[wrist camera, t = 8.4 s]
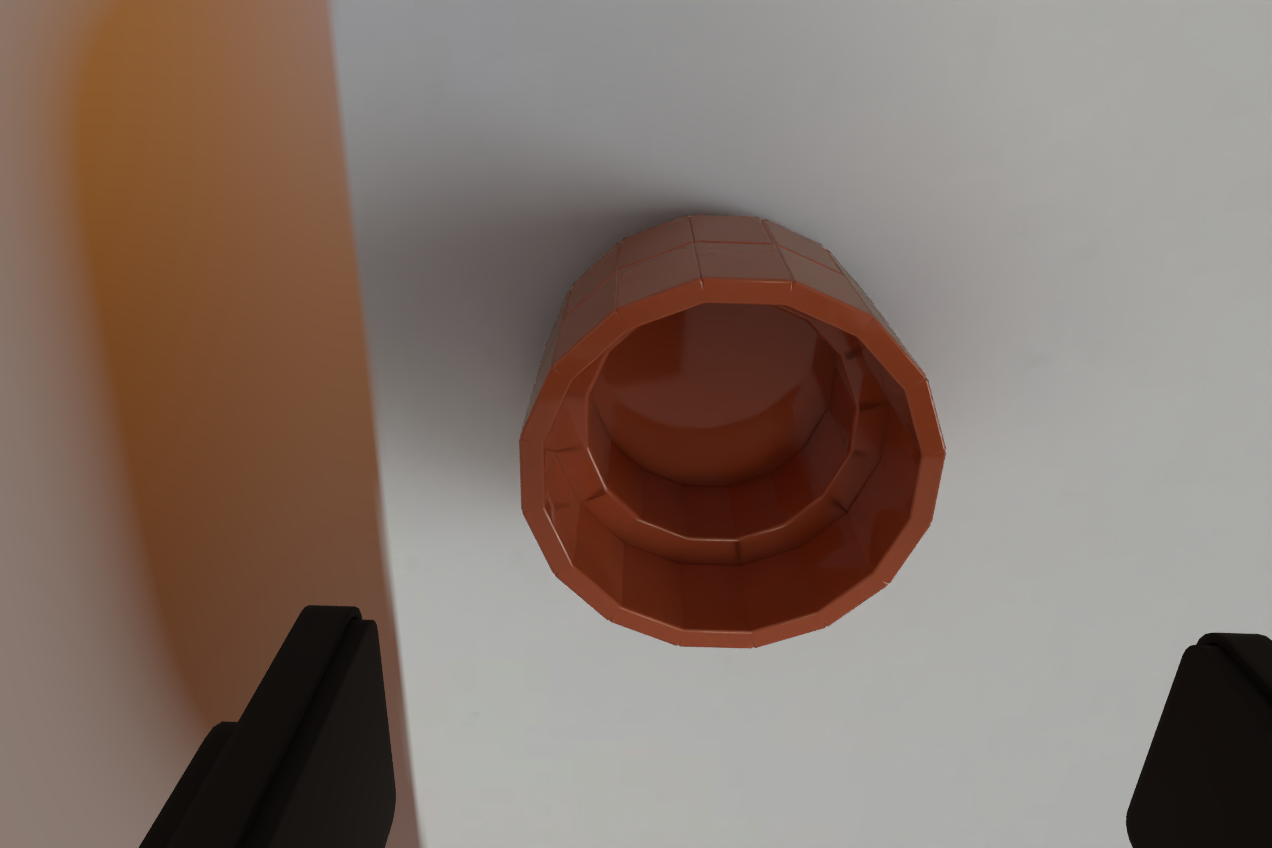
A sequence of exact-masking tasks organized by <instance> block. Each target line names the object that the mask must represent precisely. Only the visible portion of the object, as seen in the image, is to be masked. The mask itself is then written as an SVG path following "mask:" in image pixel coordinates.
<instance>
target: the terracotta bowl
mask: <svg viewBox="0 0 1272 848" xmlns="http://www.w3.org/2000/svg"><path fill="white" fill-rule="evenodd" d="M519 449H520V482H521V509H522V511H523V515H524V517H525V519H526V521H527V523H528V525H529V527H530V529H531V531H532V533H533V535H534V537H535V539H536V540H537V542H538V544H539V546H540V548H541V550H542V552H543V554H544V556H545V558H546V560H547V562H548V564H549V566H550V568H551V570H552V572H553V573H554V574H555V576H556V577H557V578H558V579H559V580H561V581H562V582H563V583H564V584H565V585H567V586H568V587H569V588H570V589H571V590H572V591H574V592H575V593H576V594H577V595H578V596H580V597H581V598H582V599H583V600H584V601H585V602H587V603H588V604H589V605H590V606H591V607H593V608H594V609H595V610H596V611H597V612H599V613H600V614H601V615H602V616H603V617H604V618H606V619H607V620H610V621H611V622H612V623H615V624H618V625H621V626H623V627H626V628H629V629H632V630H634V631H637V632H640V633H643V634H645V635H648V636H651V637H654V638H657V639H659V640H662V641H665V642H668V643H670V644H673V645H679V646H683V647H719V648H753V647H754V648H757V647H760V646H764V645H767V644H771V643H774V642H778V641H781V640H785V639H788V638H791V637H795V636H798V635H802V634H805V633H809V632H812V631H816V630H819V629H823V628H825V627H826V626H829V625H831V624H832V623H834V622H835V621H837V620H838V619H840V618H841V617H842V616H844V615H845V614H847V613H848V612H850V611H851V610H853V609H854V608H855V607H857V606H858V605H860V604H861V603H863V602H864V601H866V600H867V599H869V598H870V597H871V596H873V595H874V594H876V593H877V592H879V591H880V590H882V589H883V588H885V587H886V586H887V585H888V583H890V582H891V581H892V579H893V578H894V576H895V575H896V574H897V572H898V571H899V569H900V568H901V566H902V565H903V564H904V562H905V561H906V559H907V558H908V556H909V555H910V554H911V552H912V551H913V549H914V548H915V546H916V545H917V544H918V542H919V541H920V539H921V538H922V536H923V535H924V534H925V532H926V531H927V529H928V528H929V526H930V523H931V522H932V519H933V514H934V509H935V504H936V499H937V494H938V489H939V484H940V479H941V474H942V470H943V465H944V460H945V455H946V452H945V449H946V447H945V443H944V439H943V435H942V431H941V428H940V424H939V420H938V416H937V412H936V408H935V404H934V401H933V397H932V393H931V389H930V385H929V381H928V379H927V378H926V375H925V373H924V372H923V371H922V369H921V368H920V367H919V365H918V364H917V362H916V361H915V360H914V358H913V357H912V356H911V354H910V353H909V351H908V350H907V349H906V347H905V346H904V345H903V343H902V342H901V340H900V339H899V338H898V336H897V335H896V334H895V332H894V331H893V330H892V329H891V327H890V326H889V324H888V323H887V322H886V320H885V319H884V317H883V316H882V315H881V313H880V312H879V311H878V309H877V308H876V306H875V305H874V304H873V302H872V301H871V300H870V298H869V297H868V295H867V294H866V293H865V292H864V290H863V289H862V288H861V287H860V286H859V285H858V284H857V282H856V281H855V280H854V279H853V278H852V277H851V275H850V274H849V273H848V272H847V271H846V270H845V268H844V267H843V266H842V265H841V264H840V263H839V262H838V260H837V259H836V258H835V257H834V256H833V255H832V253H831V252H830V251H829V250H827V249H824V247H823V246H822V245H821V244H819V243H817V242H815V241H813V240H810V239H808V238H806V237H804V236H802V235H800V234H797V233H795V232H793V231H791V230H789V229H787V228H784V227H782V226H780V225H778V224H776V223H774V222H771V221H769V220H767V219H762V220H761V219H760V218H758V217H749V216H717V215H692V216H690V217H689V216H683V217H680V218H677V219H675V220H672V221H669V222H667V223H664V224H661V225H659V226H656V227H653V228H651V229H648V230H645V231H643V232H640V233H637V234H635V235H632V236H629V237H627V238H624V239H623V240H622V243H621V242H620V243H617V244H616V245H615V246H614V247H613V248H612V249H611V250H610V251H608V252H607V253H606V254H605V255H604V256H603V257H602V258H601V259H600V260H599V261H598V262H597V263H596V264H595V265H594V266H592V267H591V268H590V269H589V270H588V271H587V272H586V273H585V274H584V275H583V276H582V277H581V278H580V279H579V280H578V281H576V282H575V283H574V284H573V286H572V289H571V290H570V291H569V292H568V293H567V296H566V298H565V300H564V302H563V305H562V307H561V309H560V312H559V314H558V316H557V319H556V321H555V323H554V326H553V328H552V330H551V333H550V335H549V337H548V340H547V342H546V344H545V348H544V352H543V355H542V359H541V363H540V366H539V370H538V374H537V377H536V382H535V384H534V387H533V391H532V394H531V398H530V402H529V405H528V409H527V413H526V416H525V420H524V424H523V427H522V431H521V434H520V440H519Z"/></svg>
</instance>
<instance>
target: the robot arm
mask: <svg viewBox="0 0 1272 848" xmlns="http://www.w3.org/2000/svg"><path fill="white" fill-rule="evenodd" d="M395 803H396V788H395V779H394V771H393V762H392V753H391V744H390V735H389V726H388V717H387V708H386V699H385V690H384V681H383V673H382V664H381V655H380V647H379V639H378V630H377V625H376V622H375V621H374V620H362V616H361V613H360V610H359V608H357V607H351V606H349V607H348V606H318V605H309V606H306V607H305V608H304V609H303V610H302V612H301V613H300V615H299V617H298V618H297V620H296V622H295V624H294V625H293V627H292V629H291V630H290V632H289V634H288V636H287V637H286V639H285V641H284V643H283V645H282V646H281V648H280V650H279V651H278V653H277V655H276V657H275V659H274V660H273V662H272V664H271V665H270V667H269V669H268V671H267V672H266V674H265V676H264V678H263V679H262V681H261V683H260V685H259V686H258V688H257V690H256V692H255V693H254V695H253V697H252V699H251V700H250V702H249V704H248V706H247V707H246V709H245V711H244V713H243V714H242V716H241V718H240V719H239V721H238V722H221V723H219V724H218V725H216V726H214V727H213V728H212V730H211V731H210V732H209V734H208V735H207V736H206V738H205V739H204V741H203V742H202V744H201V746H200V747H199V749H198V751H197V752H196V754H195V756H194V757H193V759H192V761H191V762H190V764H189V766H188V767H187V769H186V771H185V772H184V774H183V775H182V777H181V779H180V780H179V782H178V784H177V785H176V787H175V789H174V790H173V792H172V794H171V795H170V797H169V799H168V800H167V802H166V803H165V805H164V807H163V808H162V810H161V812H160V814H159V815H158V817H157V818H156V820H155V822H154V823H153V825H152V827H151V828H150V830H149V832H148V833H147V835H146V837H145V838H144V840H143V841H142V843H141V845H140V847H139V848H385V845H386V842H387V838H388V835H389V832H390V829H391V825H392V821H393V817H394V811H395ZM1126 826H1127V833H1128V836H1129V840H1130V842H1131V844H1132V847H1133V848H1272V640H1271V639H1269V638H1268V637H1266V636H1263V635H1260V634H1239V633H1208V634H1205V635H1204V636H1202V637H1201V638H1200V639H1199V641H1198V642H1197V644H1196V645H1192V646H1189V647H1188V648H1187V649H1186V650H1185V652H1184V654H1183V656H1182V659H1181V662H1180V664H1179V667H1178V670H1177V673H1176V676H1175V678H1174V681H1173V684H1172V687H1171V690H1170V693H1169V695H1168V698H1167V701H1166V704H1165V707H1164V709H1163V712H1162V715H1161V718H1160V721H1159V724H1158V726H1157V729H1156V732H1155V735H1154V738H1153V740H1152V743H1151V746H1150V749H1149V752H1148V754H1147V757H1146V760H1145V763H1144V766H1143V769H1142V771H1141V774H1140V777H1139V780H1138V783H1137V785H1136V788H1135V791H1134V794H1133V797H1132V799H1131V802H1130V805H1129V808H1128V811H1127V816H1126Z"/></svg>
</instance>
